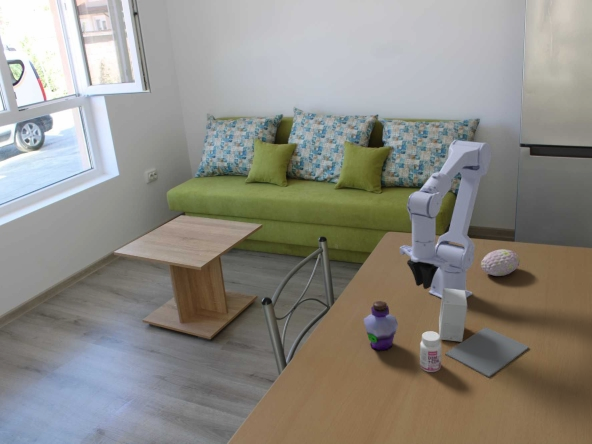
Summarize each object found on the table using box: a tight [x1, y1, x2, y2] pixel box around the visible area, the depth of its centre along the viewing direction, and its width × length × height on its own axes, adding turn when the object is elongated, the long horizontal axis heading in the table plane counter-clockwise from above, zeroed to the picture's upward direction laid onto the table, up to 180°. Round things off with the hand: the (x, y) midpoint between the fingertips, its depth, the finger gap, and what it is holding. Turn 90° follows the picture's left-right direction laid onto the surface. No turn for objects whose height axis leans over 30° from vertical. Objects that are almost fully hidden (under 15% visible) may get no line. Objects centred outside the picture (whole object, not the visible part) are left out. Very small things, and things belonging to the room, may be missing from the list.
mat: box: [444, 326, 530, 378], centre depth 132 cm, size 12×16×1 cm
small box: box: [438, 288, 468, 343], centre depth 138 cm, size 8×6×10 cm
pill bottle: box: [419, 330, 442, 373], centre depth 127 cm, size 5×5×8 cm
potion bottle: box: [363, 300, 399, 352], centre depth 136 cm, size 9×9×12 cm
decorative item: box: [480, 248, 521, 277], centre depth 166 cm, size 9×11×10 cm
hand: (423, 285), depth 143 cm, fingers closed
